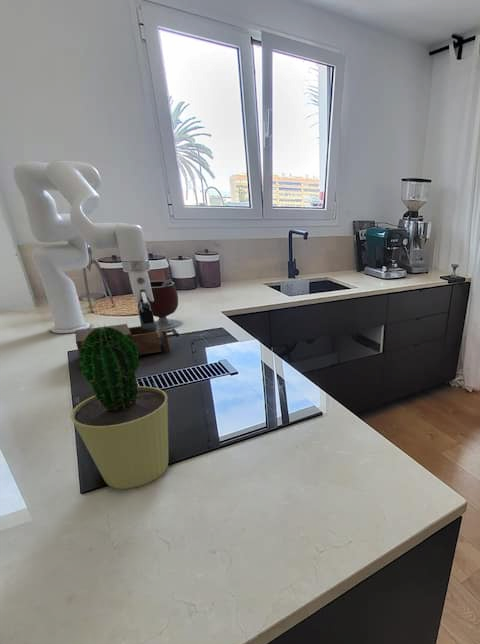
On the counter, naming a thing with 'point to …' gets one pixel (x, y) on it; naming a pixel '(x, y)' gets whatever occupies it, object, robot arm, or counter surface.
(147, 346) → the drawer
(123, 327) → the cabinet
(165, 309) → the mate gourd
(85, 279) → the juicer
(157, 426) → the potted cactus
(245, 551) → the counter surface
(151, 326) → the bottle opener
